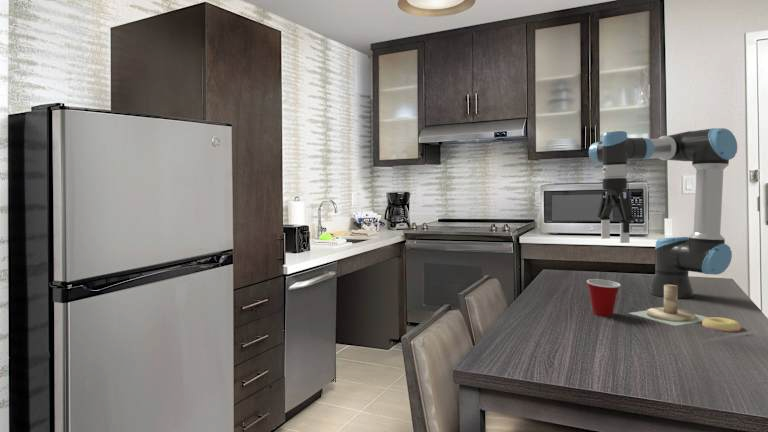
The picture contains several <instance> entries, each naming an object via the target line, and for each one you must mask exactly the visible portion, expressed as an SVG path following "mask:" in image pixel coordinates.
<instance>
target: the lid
mask: <svg viewBox="0 0 768 432" xmlns="http://www.w3.org/2000/svg"><path fill="white" fill-rule="evenodd" d="M678 299H679V298H678V286H677V285H664V297H663V307H651V308H647V309H646V310H647V315H648V316H650V317H652V318H655V319H660V320H666V321H691V320H694V319H695V314H696V313H694V312H693V311H690V310H686V309H681V308H678Z"/></svg>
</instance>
